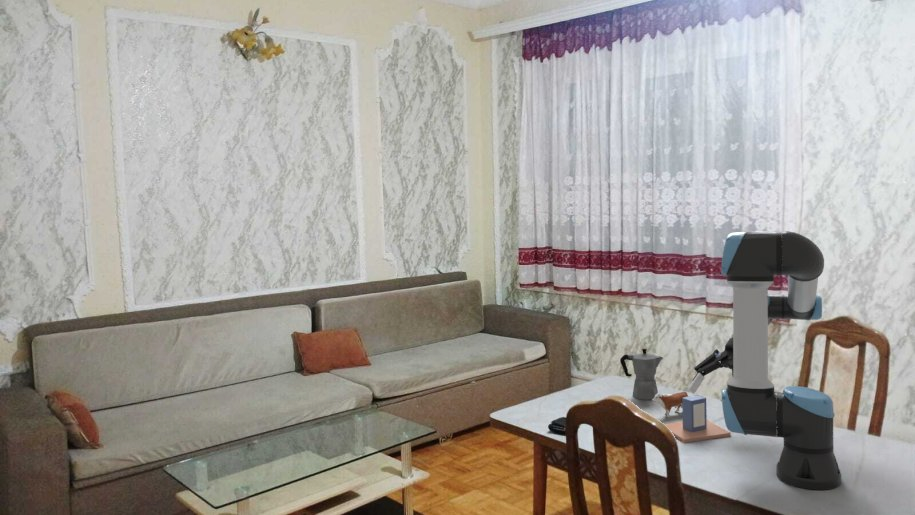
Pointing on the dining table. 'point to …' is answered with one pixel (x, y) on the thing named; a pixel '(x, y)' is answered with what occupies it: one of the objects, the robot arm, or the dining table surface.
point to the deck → (694, 413)
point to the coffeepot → (643, 374)
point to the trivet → (697, 432)
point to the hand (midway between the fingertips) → (706, 396)
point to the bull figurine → (670, 401)
